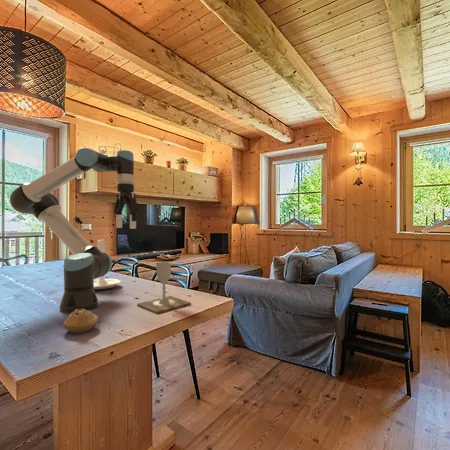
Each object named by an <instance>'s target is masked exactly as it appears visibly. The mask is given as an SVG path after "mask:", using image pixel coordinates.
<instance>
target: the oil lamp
mask: <svg viewBox="0 0 450 450" xmlns="http://www.w3.org/2000/svg"><path fill="white" fill-rule="evenodd" d="M98 321H99V317H98V315H96V314H94V313H93V312H92V311H91V310H85V309H76V310H75V311H74V312H72V313H69V315H68V316H67V318H66V319H65V320H64V321H63V327H64V328H65V329H66V330H68V331H70V332H71V333H77V334H80V333H85V332H87V331H90V330H91V329H92V327H94V326H95V325H96V324H97V323H98Z"/></svg>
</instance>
